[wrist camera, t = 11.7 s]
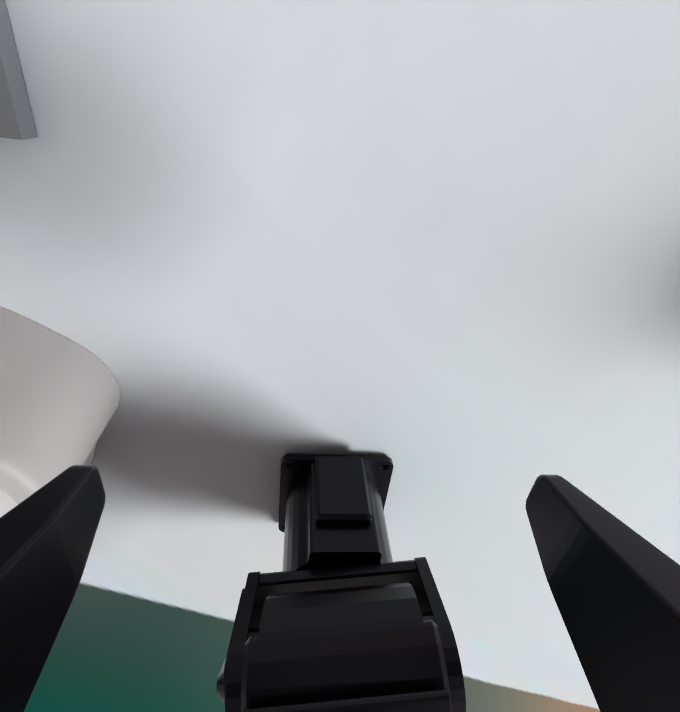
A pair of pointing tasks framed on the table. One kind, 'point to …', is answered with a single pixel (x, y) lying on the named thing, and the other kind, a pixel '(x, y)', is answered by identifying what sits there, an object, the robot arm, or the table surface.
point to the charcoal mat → (12, 86)
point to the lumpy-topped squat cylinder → (47, 406)
